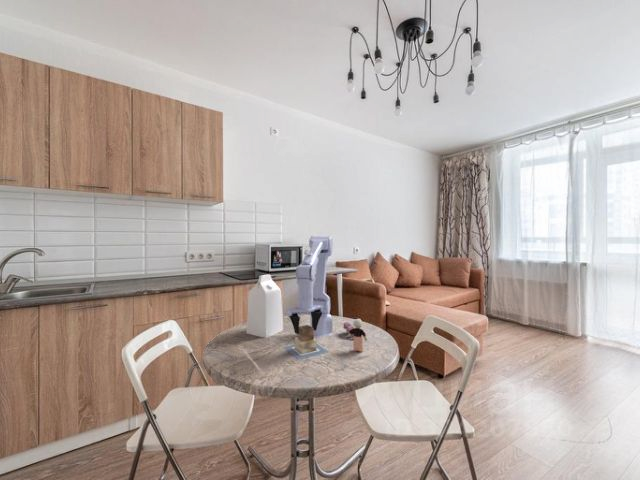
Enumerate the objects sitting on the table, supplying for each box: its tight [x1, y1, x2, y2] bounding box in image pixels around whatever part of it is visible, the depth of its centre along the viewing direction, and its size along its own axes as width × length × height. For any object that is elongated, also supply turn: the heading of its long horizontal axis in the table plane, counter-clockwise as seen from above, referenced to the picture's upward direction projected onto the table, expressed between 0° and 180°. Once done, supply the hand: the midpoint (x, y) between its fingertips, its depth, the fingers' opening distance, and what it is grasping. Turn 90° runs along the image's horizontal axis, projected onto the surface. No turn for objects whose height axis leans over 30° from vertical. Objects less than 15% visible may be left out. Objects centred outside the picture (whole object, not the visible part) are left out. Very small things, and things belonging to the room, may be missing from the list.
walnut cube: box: [297, 324, 315, 342], centre depth 110 cm, size 4×4×4 cm
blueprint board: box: [283, 343, 329, 360], centre depth 111 cm, size 13×13×1 cm
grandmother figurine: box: [347, 318, 368, 353], centre depth 110 cm, size 8×4×13 cm, turn 71°
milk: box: [246, 274, 284, 339], centre depth 132 cm, size 12×12×26 cm
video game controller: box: [342, 321, 355, 339], centre depth 127 cm, size 10×5×7 cm, turn 5°
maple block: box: [294, 337, 317, 354], centre depth 111 cm, size 6×6×4 cm
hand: (305, 331), depth 111 cm, fingers open, 7 cm apart
